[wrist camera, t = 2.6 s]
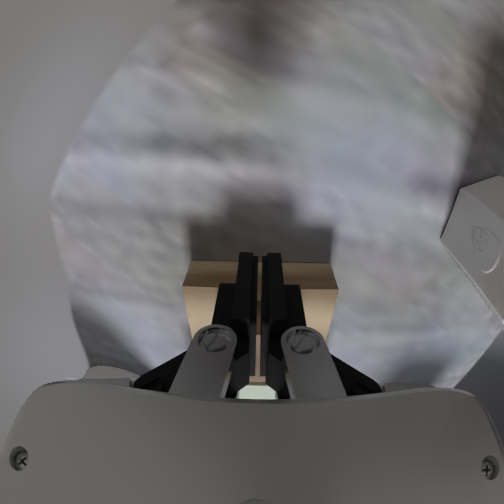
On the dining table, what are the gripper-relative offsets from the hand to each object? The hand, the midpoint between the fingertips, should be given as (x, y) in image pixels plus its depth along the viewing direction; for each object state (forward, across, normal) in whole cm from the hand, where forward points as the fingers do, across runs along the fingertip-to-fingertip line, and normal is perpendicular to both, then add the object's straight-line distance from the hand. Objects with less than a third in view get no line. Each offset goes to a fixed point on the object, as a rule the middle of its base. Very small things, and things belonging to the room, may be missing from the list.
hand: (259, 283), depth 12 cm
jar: (+8, -18, 0) cm, 20 cm away
